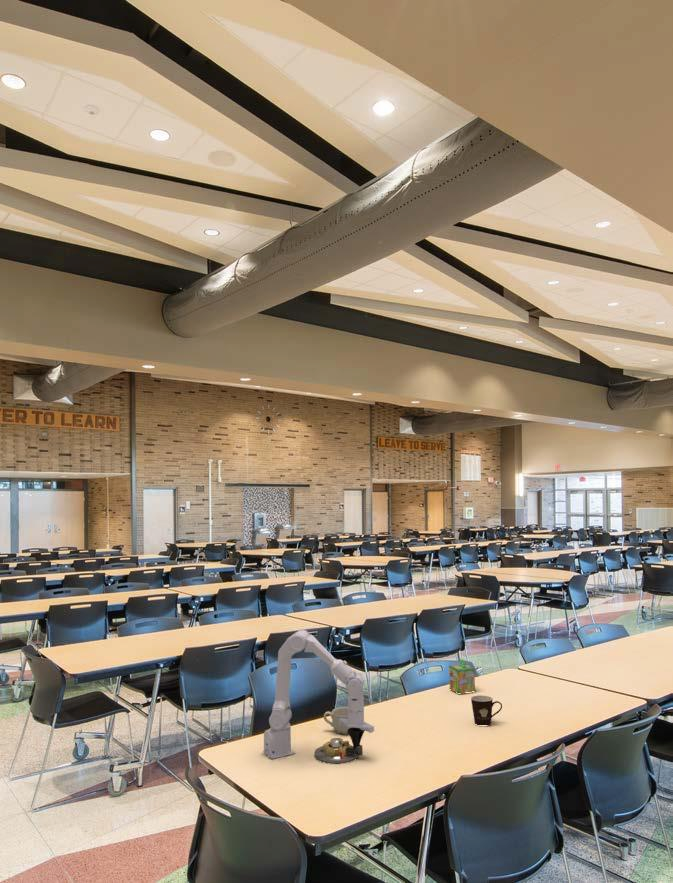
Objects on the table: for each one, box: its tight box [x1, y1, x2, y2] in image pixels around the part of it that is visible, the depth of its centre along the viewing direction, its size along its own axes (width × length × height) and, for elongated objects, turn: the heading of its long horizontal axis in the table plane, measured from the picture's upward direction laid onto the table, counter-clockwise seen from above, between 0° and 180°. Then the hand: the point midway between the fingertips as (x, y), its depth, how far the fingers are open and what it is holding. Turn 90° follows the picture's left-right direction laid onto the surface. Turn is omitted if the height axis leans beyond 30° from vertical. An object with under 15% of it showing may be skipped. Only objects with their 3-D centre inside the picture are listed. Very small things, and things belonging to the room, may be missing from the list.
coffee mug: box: [470, 694, 503, 726], centre depth 262 cm, size 12×9×10 cm
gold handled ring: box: [322, 740, 364, 757], centre depth 231 cm, size 15×9×3 cm, turn 63°
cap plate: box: [314, 737, 360, 765], centre depth 232 cm, size 16×16×5 cm
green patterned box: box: [448, 658, 476, 693], centre depth 309 cm, size 9×9×15 cm
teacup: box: [323, 706, 350, 735], centre depth 257 cm, size 14×11×8 cm
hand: (356, 749), depth 231 cm, fingers closed, pressing on gold handled ring
